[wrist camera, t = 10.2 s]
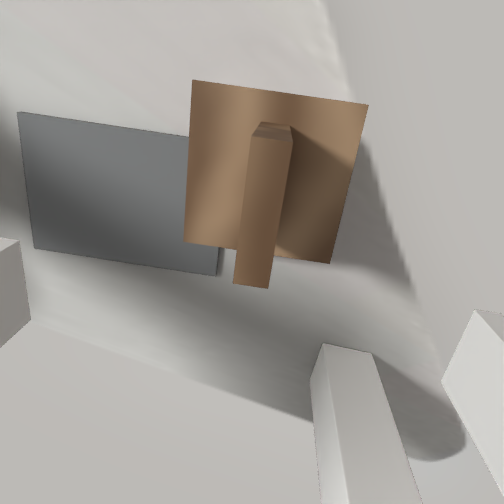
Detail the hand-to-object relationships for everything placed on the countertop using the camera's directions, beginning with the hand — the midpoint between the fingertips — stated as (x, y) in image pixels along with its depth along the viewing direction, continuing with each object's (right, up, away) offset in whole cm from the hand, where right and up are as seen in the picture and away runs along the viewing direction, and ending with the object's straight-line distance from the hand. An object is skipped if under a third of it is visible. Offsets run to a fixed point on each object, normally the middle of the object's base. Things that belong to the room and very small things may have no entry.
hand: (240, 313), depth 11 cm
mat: (-13, +7, +26) cm, 30 cm away
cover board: (+2, +8, +17) cm, 19 cm away
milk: (+11, -12, +33) cm, 37 cm away
